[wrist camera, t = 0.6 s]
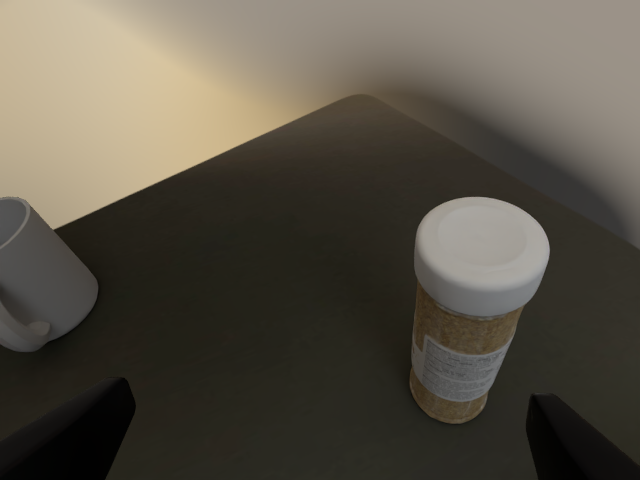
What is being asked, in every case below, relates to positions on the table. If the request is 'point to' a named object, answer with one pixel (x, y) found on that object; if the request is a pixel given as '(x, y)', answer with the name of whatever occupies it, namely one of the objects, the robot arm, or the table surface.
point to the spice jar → (470, 300)
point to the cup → (38, 280)
